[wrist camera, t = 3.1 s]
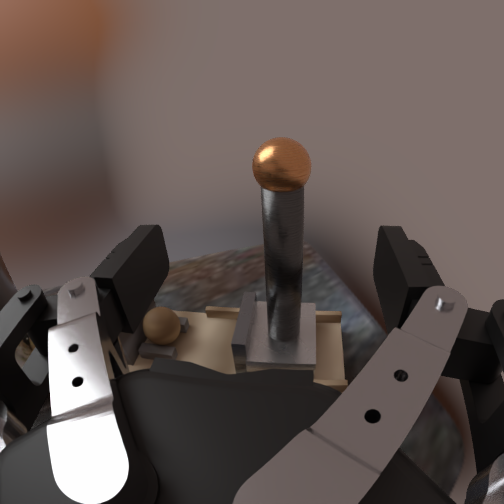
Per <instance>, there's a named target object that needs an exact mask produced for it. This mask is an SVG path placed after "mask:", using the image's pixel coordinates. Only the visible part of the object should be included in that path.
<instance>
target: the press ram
mask: <svg viewBox="0 0 504 504" xmlns="http://www.w3.org/2000/svg"><path fill="white" fill-rule="evenodd" d="M252 169H253V174H254V177H255V179H256V181H257V182H258V183H259V185H260V186H261V198H262V217H263V237H264V258H265V279H266V300H267V302H261V301H257V300H256V292H244V294H243V298H242V302H241V306H240V310H239V314H238V318H237V322H236V326H235V330H234V334H233V338H232V342H231V347H232V353H233V359H234V365H235V371H236V374H237V373H245V372H253V371H260V370H267V369H292V370H314V375H315V367H316V310H315V303H301V298H302V272H303V234H304V231H303V230H304V185H305V184H306V182H307V181H308V179H309V176H310V173H311V160H310V157H309V154H308V153H307V151H306V149H305V148H304V147H303V146H302V145H301V144H300V143H298V142H297V141H295V140H293V139H290V138H285V137H278V138H273V139H270V140H268V141H266V142H265V143H263V144H262V145H261V146H260V147H259V148H258V150H257V151H256V153H255V155H254V158H253V163H252Z"/></svg>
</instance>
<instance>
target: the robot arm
mask: <svg viewBox="0 0 504 504" xmlns="http://www.w3.org/2000/svg"><path fill="white" fill-rule="evenodd" d="M168 272H169V258H168V255H167V250H166V246H165V241H164V237H163V232H162V229H161V227H160V226H159V225H140V226H138V227H137V229H136V230H135V231H134V232H133V233H132V234H131V235H130V236H129V237H128V238H127V239H125V240H124V241H122V242H121V243H119V244H118V245H117V246H116V247H115V248H114V249H113V250H112V251H111V253H110V254H109V255H108V256H107V257H106V259H104V260H103V261H102V263H101V264H100V265H99V266H98V267H97V268H96V269H95V271H94V272H93V273H92V274H91V275H90V277H78V278H75V279H73V280H71V281H69V282H67V283H66V284H65V285H63V286H62V287H61V289H60V290H59V292H58V295H53V296H47V297H45V295H44V293H43V291H42V289H41V287H40V286H39V285H29V286H27V287H24V288H22V289H21V290H19V291H17V289H16V286H15V284H14V282H13V280H12V278H11V276H10V274H9V272H8V270H7V267H6V265H5V263H4V261H3V258H2V256H1V253H0V504H456V503H455V502H454V501H453V500H452V499H451V498H450V497H449V496H448V495H447V494H446V493H445V492H444V491H443V490H442V489H441V488H440V487H439V486H438V485H437V484H436V483H435V482H434V481H433V480H432V479H430V478H429V477H428V476H427V475H426V474H425V473H424V472H423V471H422V470H421V469H420V468H419V467H418V466H417V465H416V464H415V463H414V462H413V461H412V460H411V459H410V458H409V457H408V456H407V455H406V454H405V453H404V452H403V451H402V450H401V449H400V448H399V447H400V445H401V444H402V442H403V440H404V439H405V437H406V436H407V434H408V433H409V431H410V429H411V428H412V426H413V424H414V423H415V421H416V419H417V418H418V416H419V414H420V413H421V411H422V409H423V407H424V405H425V404H426V402H427V400H428V398H429V396H430V394H431V393H432V391H433V389H434V387H435V385H436V383H437V380H438V379H439V377H440V375H441V376H446V377H451V378H456V379H460V383H461V387H462V391H463V395H464V400H465V405H466V409H467V414H468V418H469V424H470V430H471V435H472V441H473V448H474V454H475V462H476V469H477V475H476V476H475V477H474V478H473V479H472V480H471V482H470V484H469V486H468V489H467V494H466V499H465V504H504V382H503V379H502V376H501V372H502V371H503V372H504V300H498V301H496V302H495V303H494V304H493V307H492V308H491V310H490V312H485V311H480V310H475V309H471V308H468V304H467V301H466V300H465V298H464V297H463V296H462V295H461V294H460V293H459V292H458V291H456V290H454V289H452V288H449V287H446V286H445V285H444V283H443V281H442V280H441V278H440V276H439V274H438V272H437V270H436V269H435V267H434V265H433V264H432V261H431V260H430V258H429V256H428V254H427V253H426V251H425V249H424V248H423V247H422V246H421V245H420V244H418V243H417V242H416V241H414V240H408V238H407V236H406V234H405V233H404V231H403V229H402V227H401V226H380V228H379V231H378V238H377V245H376V252H375V259H374V268H373V276H374V282H375V286H376V289H377V293H378V297H379V300H380V304H381V308H382V312H383V316H384V320H385V324H386V328H387V333H388V337H387V338H386V339H385V341H384V342H383V344H382V345H381V346H380V347H379V349H378V350H377V351H376V353H375V354H374V355H373V357H372V358H371V359H370V360H369V362H368V363H367V364H366V365H365V367H364V368H363V369H362V370H361V372H360V373H359V374H358V375H357V377H356V378H355V379H354V380H353V381H352V383H351V384H350V385H349V386H348V387H347V388H346V390H345V391H344V392H343V393H341V392H340V391H338V390H336V389H333V388H331V387H329V386H326V385H323V384H320V383H316V382H313V381H314V370H292V369H267V370H260V371H253V372H245V373H237V374H225V373H221V372H218V371H215V370H212V369H209V368H206V367H204V366H201V365H198V364H195V363H192V362H187V361H179V360H172V359H164V358H158V357H155V358H154V361H153V363H152V365H151V367H150V368H147V369H141V370H136V371H132V372H130V371H129V367H128V364H127V361H126V358H125V354H124V351H123V347H122V344H121V341H120V339H119V337H118V336H119V334H120V332H124V333H131V334H134V333H135V331H136V329H137V327H138V325H139V324H140V322H141V320H142V318H143V317H144V315H145V313H146V311H147V310H148V308H149V306H150V304H151V303H152V301H153V299H154V297H155V296H156V294H157V292H158V291H159V289H160V287H161V285H162V284H163V282H164V280H165V279H166V277H167V275H168ZM26 334H28V336H29V337H30V339H31V341H32V342H33V344H34V345H35V348H34V350H33V351H32V353H31V355H30V356H29V358H28V359H27V361H26V362H25V364H24V366H23V367H22V369H21V367H20V366H19V364H18V363H17V361H16V358H15V351H16V348H17V347H18V345H19V344H20V342H21V341H22V339H23V338H24V336H25V335H26ZM49 391H50V398H51V409H52V418H50V419H49V420H47V421H45V422H44V423H42V424H40V425H38V426H37V427H35V428H33V429H32V430H30V429H31V427H32V425H33V423H34V421H35V419H36V417H37V415H38V413H39V411H40V409H41V407H42V405H43V403H44V401H45V399H46V397H47V395H48V393H49Z"/></svg>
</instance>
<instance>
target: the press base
mask: <svg viewBox="0 0 504 504" xmlns="http://www.w3.org/2000/svg"><path fill="white" fill-rule="evenodd" d="M153 308H156V305H155V302H154V299H153V301H152V303H151V304H150V306H149V308H148V310H147V311H146V313H145V315H146V314H147V313H148V312H149V311H150V310H151V309H153ZM239 310H240V308H227V307H211V306H207V307H206V313H196V312H184V311H173V312H175V313H176V315H177V316H178V318H179V320H180V326H181V328H180V333H179V335H178V337H177V338H176V339H175V340H174V341H173V342H172V343H170V344H167V345H158V344H155V343H153V342H151V341H150V340H149V339H148V338H147V337H146V336H145V334H144V331H143V319H144V317H145V315H144V317H143V318H142V320H141V322H140V324H139V325H138V327H137V329H136V331H135V333H134V334H131V333H124V332H120V334H119V336H118V337H119V339H120V341H121V344H122V347H123V351H124V354H125V358H126V361H127V364H128V367H129V371H130V372H132V371H136V370H141V369H147V368H150V367H151V365H152V363H153V361H154V358H155V357H158V358H164V359H172V360H179V361H187V362H192V363H195V364H198V365H201V366H204V367H206V368H209V369H212V370H215V371H218V372H221V373H225V374H236V371H235V365H234V359H233V353H232V347H231V342H232V338H233V334H234V330H235V326H236V322H237V318H238V314H239ZM341 316H342V314H341V311H316V367H315V375H314V381H313V382H316V383H320V384H323V385H326V386H329V387H331V388H333V389H336V390H338V391H340V392H341V393H343V392H344V391H345V390H346V388H347V386H348V382H347V380H345V374H344V360H343V347H342V335H341V324H340V322H341Z"/></svg>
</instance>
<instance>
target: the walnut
mask: <svg viewBox="0 0 504 504" xmlns="http://www.w3.org/2000/svg"><path fill="white" fill-rule="evenodd" d="M180 328H181V326H180V320H179V318H178V316H177V315H176V313H175V312H173V311H172V310H171V309H169V308H166V307H156V308H153V309H151V310H150V311H149V312H148V313H147V314H146V315H145V317H144V319H143V331H144V334H145V336H146V337H147V338H148V339H149V340H150V341H151V342H153V343H155V344H158V345H167V344H170V343H172V342H173V341H174V340H175V339H176V338H177V337H178V335H179V333H180Z"/></svg>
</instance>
